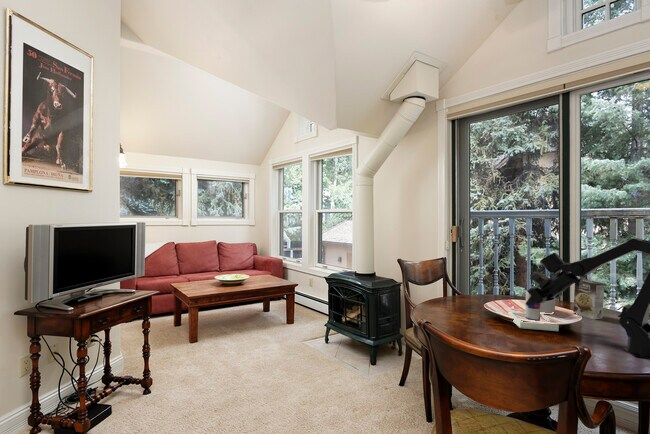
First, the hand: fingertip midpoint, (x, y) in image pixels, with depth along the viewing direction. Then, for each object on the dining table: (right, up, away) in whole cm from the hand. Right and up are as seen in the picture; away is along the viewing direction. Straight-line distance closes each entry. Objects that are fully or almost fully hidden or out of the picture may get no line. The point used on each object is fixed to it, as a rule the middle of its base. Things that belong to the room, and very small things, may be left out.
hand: (529, 303), depth 141 cm
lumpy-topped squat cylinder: (+17, -8, +18) cm, 26 cm away
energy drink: (+1, -7, -1) cm, 7 cm away
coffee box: (+34, -9, +11) cm, 36 cm away
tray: (+1, -8, -1) cm, 8 cm away
